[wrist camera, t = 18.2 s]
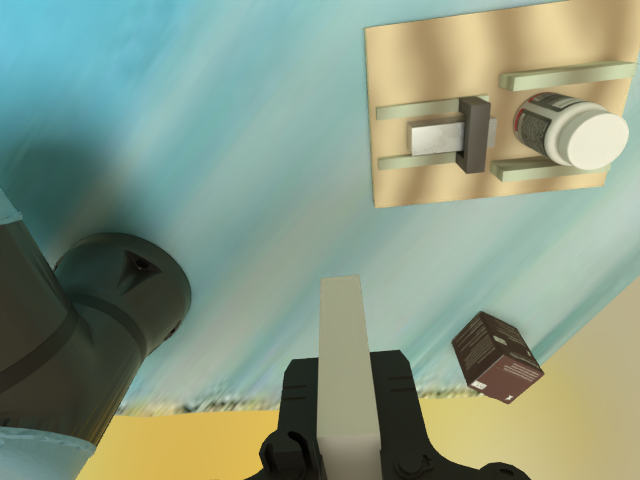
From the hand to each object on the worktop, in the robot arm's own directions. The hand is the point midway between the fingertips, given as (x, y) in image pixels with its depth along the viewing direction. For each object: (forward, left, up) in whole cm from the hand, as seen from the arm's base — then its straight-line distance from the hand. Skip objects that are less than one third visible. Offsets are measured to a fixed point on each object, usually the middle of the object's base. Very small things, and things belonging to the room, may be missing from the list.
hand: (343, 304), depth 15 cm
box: (+16, -26, -25) cm, 40 cm away
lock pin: (+10, 0, -23) cm, 25 cm away
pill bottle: (+18, +1, -23) cm, 30 cm away
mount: (+14, +2, -25) cm, 28 cm away
